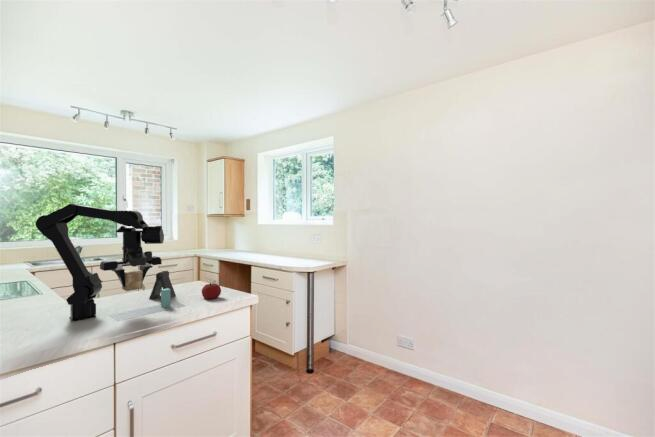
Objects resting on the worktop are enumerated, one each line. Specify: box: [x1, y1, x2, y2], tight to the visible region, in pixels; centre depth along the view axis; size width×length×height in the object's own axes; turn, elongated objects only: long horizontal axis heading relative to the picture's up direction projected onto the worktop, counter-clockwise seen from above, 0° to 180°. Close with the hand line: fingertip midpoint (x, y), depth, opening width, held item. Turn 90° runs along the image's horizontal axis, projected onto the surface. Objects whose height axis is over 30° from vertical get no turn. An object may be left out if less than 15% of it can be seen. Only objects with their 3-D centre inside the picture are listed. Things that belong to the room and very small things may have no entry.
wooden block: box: [121, 268, 144, 292], centre depth 114 cm, size 5×5×7 cm
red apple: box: [201, 282, 222, 301], centre depth 137 cm, size 8×8×7 cm
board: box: [109, 301, 187, 322], centre depth 119 cm, size 24×10×1 cm, turn 139°
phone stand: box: [148, 270, 176, 300], centre depth 137 cm, size 9×6×12 cm, turn 92°
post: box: [160, 288, 171, 308], centre depth 123 cm, size 3×3×7 cm
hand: (132, 286), depth 114 cm, fingers closed on wooden block, 5 cm apart
